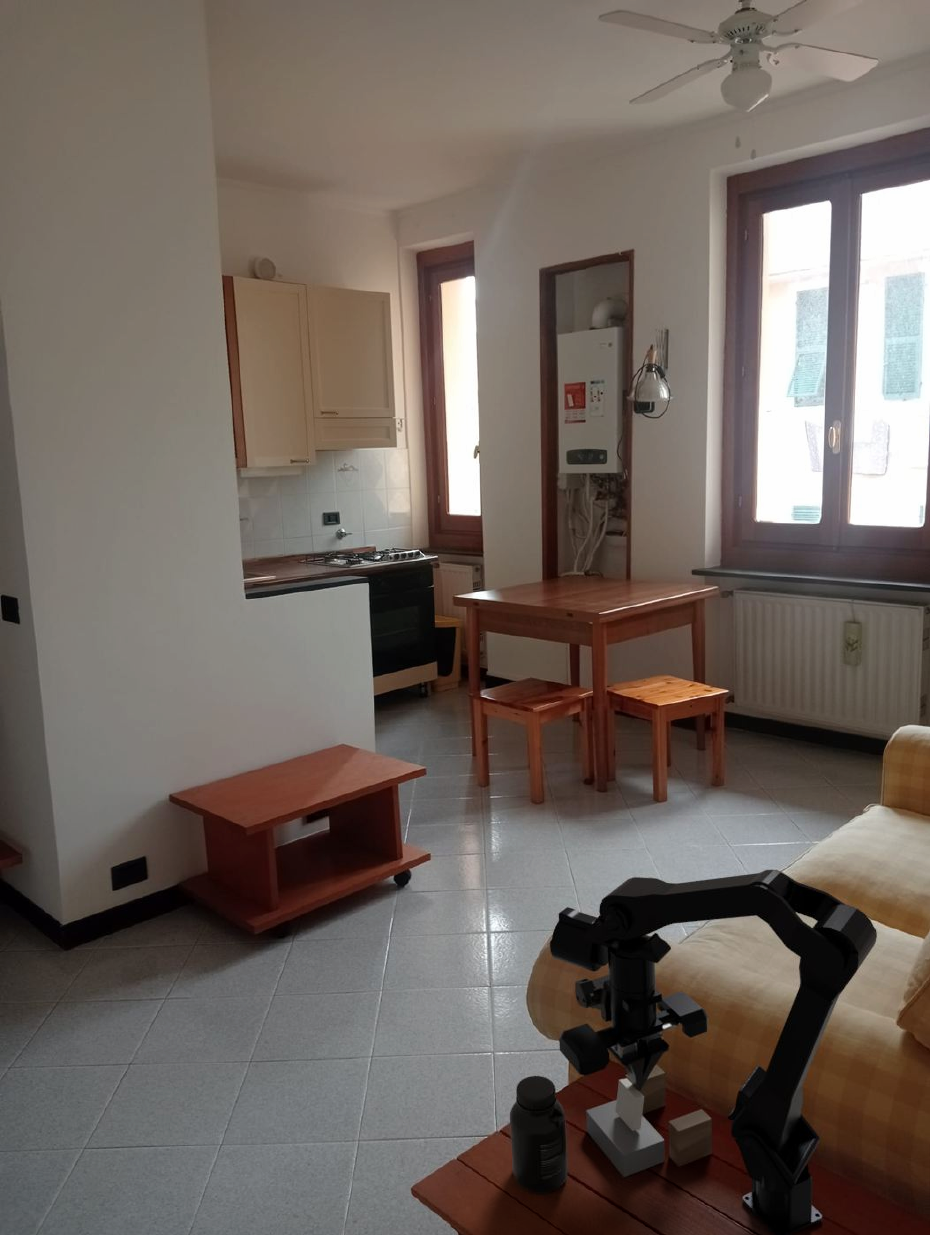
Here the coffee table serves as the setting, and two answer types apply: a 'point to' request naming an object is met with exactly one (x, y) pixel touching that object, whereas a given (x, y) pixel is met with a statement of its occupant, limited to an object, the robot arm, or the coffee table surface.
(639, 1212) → the coffee table surface
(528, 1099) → the supplement bottle
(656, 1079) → the far post
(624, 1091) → the plate
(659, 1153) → the base
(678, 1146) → the beige block
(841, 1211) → the coffee table surface
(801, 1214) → the robot arm
